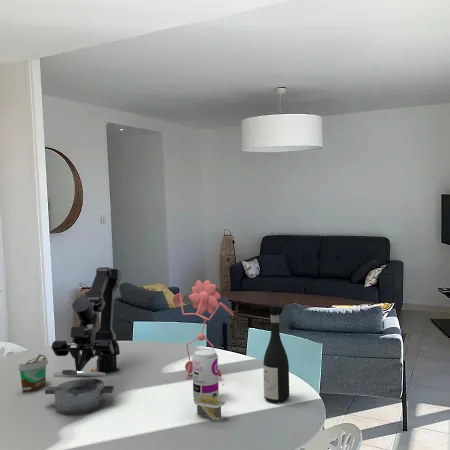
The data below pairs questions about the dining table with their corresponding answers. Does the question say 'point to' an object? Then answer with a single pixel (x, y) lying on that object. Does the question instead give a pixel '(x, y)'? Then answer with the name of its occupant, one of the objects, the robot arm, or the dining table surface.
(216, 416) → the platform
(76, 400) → the cooker pot
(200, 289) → the figurine
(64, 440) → the dining table surface
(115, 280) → the robot arm
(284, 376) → the wine bottle
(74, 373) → the cooker lid
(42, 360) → the food container
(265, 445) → the dining table surface
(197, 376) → the supplement can
